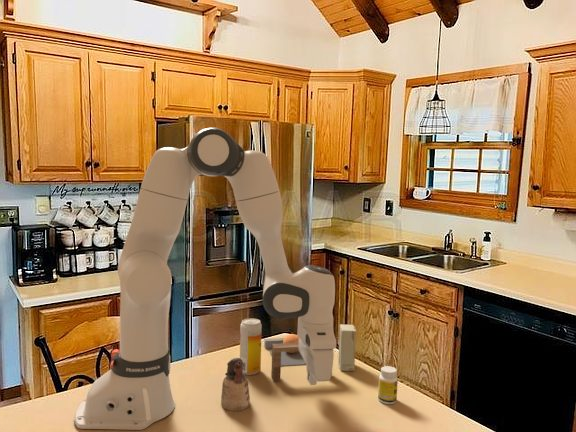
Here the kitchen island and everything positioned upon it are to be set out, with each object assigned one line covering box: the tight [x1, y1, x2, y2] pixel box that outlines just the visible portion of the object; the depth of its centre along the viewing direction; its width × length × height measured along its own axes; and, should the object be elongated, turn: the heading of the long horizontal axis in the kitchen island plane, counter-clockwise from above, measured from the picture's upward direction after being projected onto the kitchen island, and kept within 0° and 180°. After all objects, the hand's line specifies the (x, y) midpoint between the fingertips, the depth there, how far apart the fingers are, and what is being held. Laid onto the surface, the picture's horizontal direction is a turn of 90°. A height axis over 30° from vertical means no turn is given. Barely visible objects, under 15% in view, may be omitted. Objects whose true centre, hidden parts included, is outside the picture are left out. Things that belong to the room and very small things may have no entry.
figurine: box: [220, 357, 251, 412], centre depth 117 cm, size 7×7×12 cm
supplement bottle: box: [377, 365, 399, 405], centre depth 122 cm, size 5×5×8 cm
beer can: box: [239, 317, 263, 376], centre depth 136 cm, size 6×6×15 cm
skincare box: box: [338, 323, 357, 372], centre depth 141 cm, size 6×4×12 cm
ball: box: [283, 333, 299, 353], centre depth 151 cm, size 6×6×6 cm
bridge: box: [270, 343, 333, 382], centre depth 133 cm, size 3×17×10 cm, turn 102°
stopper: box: [263, 337, 285, 350], centre depth 156 cm, size 14×2×2 cm, turn 102°
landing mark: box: [268, 349, 306, 367], centre depth 147 cm, size 12×12×1 cm
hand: (311, 382), depth 120 cm, fingers closed
